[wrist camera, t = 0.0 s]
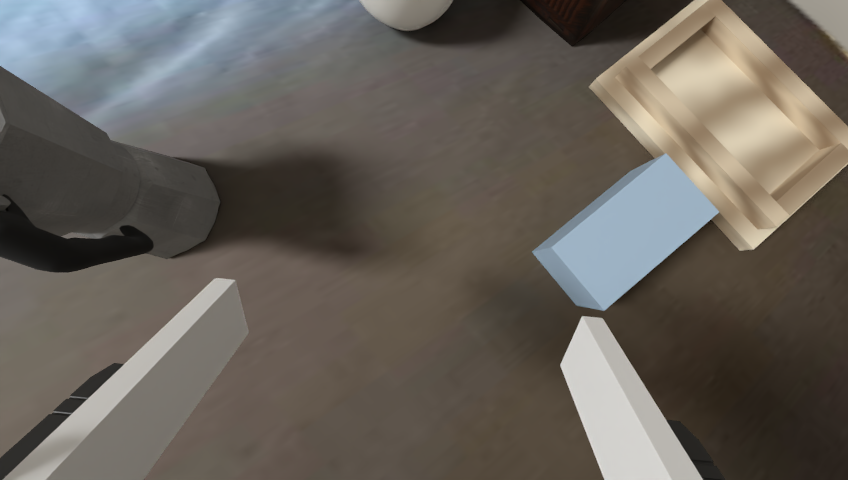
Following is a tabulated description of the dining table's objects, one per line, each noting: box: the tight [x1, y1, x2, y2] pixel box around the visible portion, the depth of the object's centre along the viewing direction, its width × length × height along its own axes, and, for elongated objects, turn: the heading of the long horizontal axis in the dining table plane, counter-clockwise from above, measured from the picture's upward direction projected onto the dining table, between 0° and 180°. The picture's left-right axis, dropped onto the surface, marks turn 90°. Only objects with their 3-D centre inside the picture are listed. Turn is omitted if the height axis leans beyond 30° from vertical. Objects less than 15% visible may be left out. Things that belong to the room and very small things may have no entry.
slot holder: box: [589, 0, 848, 251], centre depth 28 cm, size 20×14×3 cm
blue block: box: [532, 153, 719, 311], centre depth 26 cm, size 12×6×4 cm, turn 128°
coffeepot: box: [0, 66, 220, 272], centre depth 19 cm, size 15×9×18 cm, turn 50°
